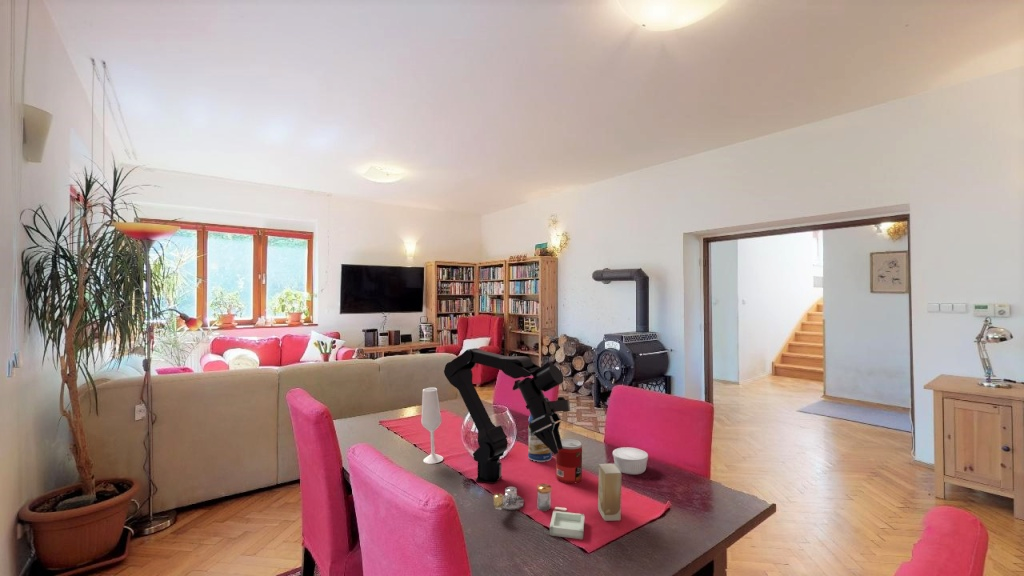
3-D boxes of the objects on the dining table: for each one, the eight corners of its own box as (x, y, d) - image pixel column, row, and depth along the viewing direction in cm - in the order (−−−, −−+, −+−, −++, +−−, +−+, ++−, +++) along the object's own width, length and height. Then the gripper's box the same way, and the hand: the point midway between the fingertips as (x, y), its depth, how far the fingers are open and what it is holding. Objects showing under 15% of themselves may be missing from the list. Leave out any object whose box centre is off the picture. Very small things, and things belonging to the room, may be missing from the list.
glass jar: (535, 510, 115) (535, 489, 115) (537, 503, 119) (538, 483, 119) (550, 511, 114) (550, 490, 114) (551, 505, 118) (552, 484, 118)
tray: (549, 535, 103) (549, 526, 103) (553, 518, 111) (553, 510, 111) (582, 539, 101) (583, 530, 102) (584, 522, 109) (584, 514, 109)
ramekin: (609, 472, 140) (610, 456, 140) (615, 460, 150) (615, 445, 150) (646, 478, 135) (646, 461, 135) (649, 465, 146) (649, 449, 146)
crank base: (495, 508, 116) (495, 505, 116) (501, 496, 122) (501, 493, 122) (521, 511, 114) (521, 508, 114) (525, 499, 121) (525, 496, 121)
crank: (507, 497, 120) (507, 478, 120) (518, 499, 119) (518, 480, 119) (490, 516, 110) (490, 496, 110) (502, 519, 109) (502, 498, 109)
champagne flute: (446, 459, 147) (443, 389, 146) (428, 465, 144) (424, 393, 143) (438, 453, 153) (434, 385, 152) (420, 458, 149) (416, 389, 148)
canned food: (581, 485, 130) (581, 448, 130) (554, 482, 132) (554, 445, 132) (582, 474, 138) (582, 439, 138) (557, 472, 139) (557, 437, 140)
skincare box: (597, 509, 116) (597, 462, 116) (613, 508, 116) (613, 462, 116) (604, 521, 109) (605, 472, 110) (621, 521, 110) (622, 472, 110)
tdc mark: (554, 509, 115) (554, 508, 115) (555, 507, 116) (555, 506, 116) (566, 511, 115) (566, 509, 115) (566, 509, 116) (566, 508, 116)
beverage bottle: (556, 457, 152) (557, 399, 152) (544, 465, 145) (545, 404, 145) (535, 452, 157) (535, 396, 157) (523, 459, 150) (523, 401, 150)
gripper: (555, 385, 115) (582, 442, 110) (563, 386, 133) (587, 435, 128) (517, 403, 116) (543, 460, 111) (531, 402, 134) (553, 451, 129)
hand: (559, 451), depth 120 cm, fingers open, 9 cm apart
